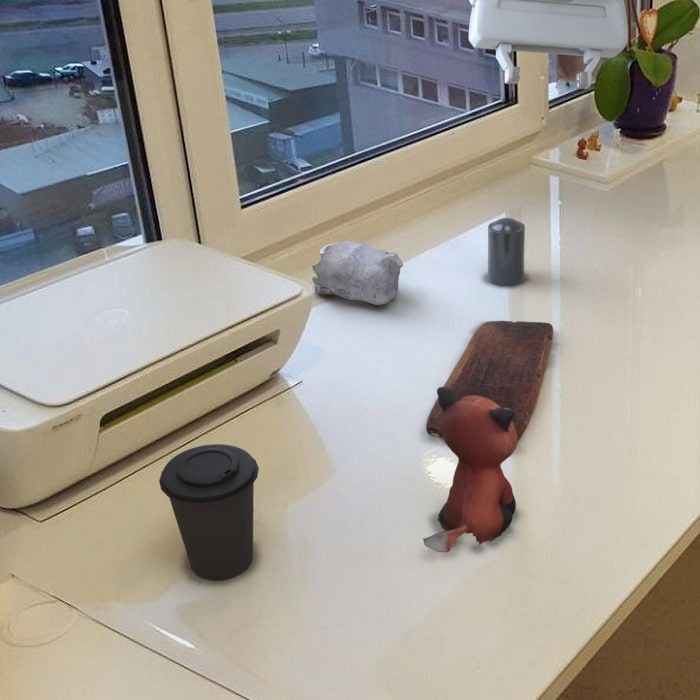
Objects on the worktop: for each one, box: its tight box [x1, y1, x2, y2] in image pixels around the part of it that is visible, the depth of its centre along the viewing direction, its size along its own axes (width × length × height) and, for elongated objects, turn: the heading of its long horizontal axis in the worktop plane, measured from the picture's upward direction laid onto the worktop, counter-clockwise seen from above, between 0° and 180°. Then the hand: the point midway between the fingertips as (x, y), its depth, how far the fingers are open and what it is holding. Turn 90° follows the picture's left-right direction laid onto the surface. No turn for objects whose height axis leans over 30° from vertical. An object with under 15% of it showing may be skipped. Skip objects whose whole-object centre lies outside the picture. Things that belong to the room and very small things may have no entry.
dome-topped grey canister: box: [487, 217, 526, 287], centre depth 136 cm, size 5×5×8 cm
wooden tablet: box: [425, 320, 554, 443], centre depth 114 cm, size 26×2×10 cm
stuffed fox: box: [422, 386, 518, 553], centre depth 90 cm, size 8×11×12 cm
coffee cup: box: [158, 443, 260, 581], centre depth 89 cm, size 8×8×10 cm
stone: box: [311, 238, 404, 306], centre depth 134 cm, size 8×12×7 cm, turn 60°
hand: (548, 85), depth 135 cm, fingers open, 8 cm apart
